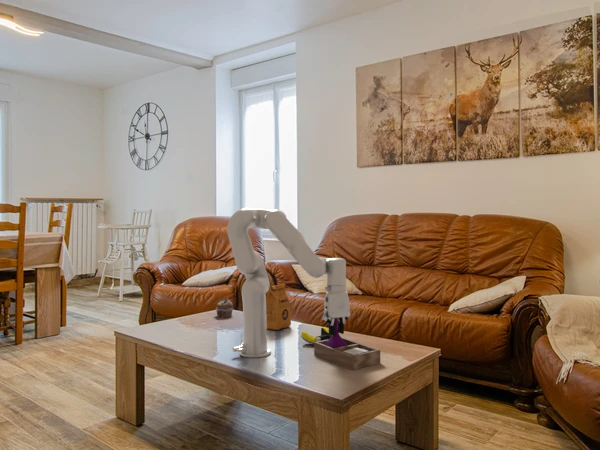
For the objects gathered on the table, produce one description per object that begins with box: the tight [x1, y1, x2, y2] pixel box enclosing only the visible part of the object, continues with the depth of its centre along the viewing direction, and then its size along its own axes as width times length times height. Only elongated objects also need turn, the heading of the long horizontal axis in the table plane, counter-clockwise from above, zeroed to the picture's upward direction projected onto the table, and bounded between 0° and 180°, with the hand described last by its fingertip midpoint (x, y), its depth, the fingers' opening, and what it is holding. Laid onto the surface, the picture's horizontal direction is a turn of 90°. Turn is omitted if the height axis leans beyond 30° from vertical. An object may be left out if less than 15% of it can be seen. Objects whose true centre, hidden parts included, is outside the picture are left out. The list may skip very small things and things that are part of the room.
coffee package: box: [265, 283, 292, 331], centre depth 238 cm, size 10×12×22 cm
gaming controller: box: [300, 326, 332, 347], centre depth 211 cm, size 15×6×10 cm
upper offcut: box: [343, 348, 369, 355], centre depth 182 cm, size 8×6×2 cm
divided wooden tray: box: [313, 336, 381, 371], centre depth 187 cm, size 14×24×5 cm, turn 33°
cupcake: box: [215, 297, 234, 318], centre depth 269 cm, size 10×10×10 cm
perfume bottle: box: [324, 318, 347, 348], centre depth 191 cm, size 8×8×18 cm
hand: (336, 333), depth 191 cm, fingers closed on perfume bottle, 3 cm apart
